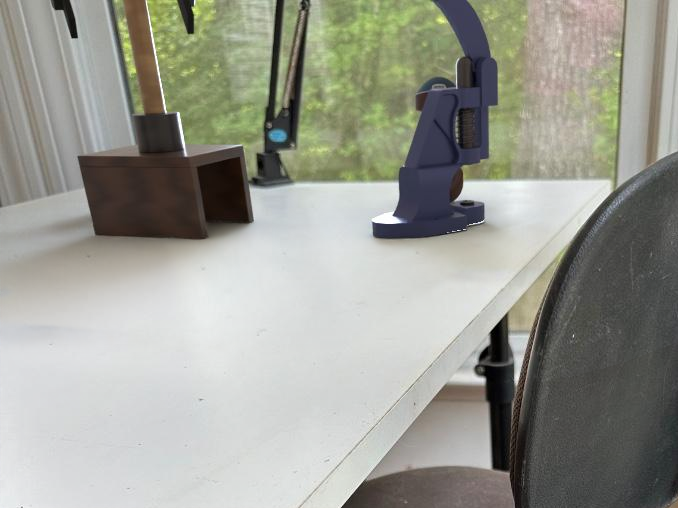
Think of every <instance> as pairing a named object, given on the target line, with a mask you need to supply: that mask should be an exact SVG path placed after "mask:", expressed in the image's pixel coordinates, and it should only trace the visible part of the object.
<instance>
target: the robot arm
mask: <svg viewBox="0 0 678 508" xmlns="http://www.w3.org/2000/svg"><path fill="white" fill-rule="evenodd" d="M176 2H177V5H178V8H179V12H180V14H181V19H182V21H183V23H184V27H185V29H186V33H187V35H194V34H195V14H194V11H193V8H194V7H195V5H196V0H176ZM50 3H51V7H52V8H53V9H54V11H62V12H63V15H64V18H65V22H66V25H67V28H68V32H69V36H70V38H71V39H72V40H73V39H79V35H78V27H77V21H76V16H75V12H74V9H73V6H72V2H71V0H50Z"/></svg>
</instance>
